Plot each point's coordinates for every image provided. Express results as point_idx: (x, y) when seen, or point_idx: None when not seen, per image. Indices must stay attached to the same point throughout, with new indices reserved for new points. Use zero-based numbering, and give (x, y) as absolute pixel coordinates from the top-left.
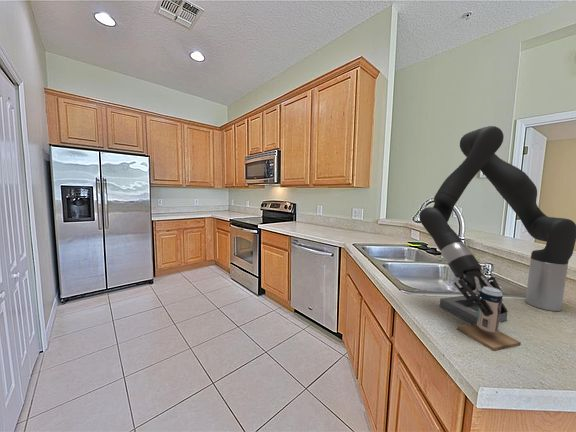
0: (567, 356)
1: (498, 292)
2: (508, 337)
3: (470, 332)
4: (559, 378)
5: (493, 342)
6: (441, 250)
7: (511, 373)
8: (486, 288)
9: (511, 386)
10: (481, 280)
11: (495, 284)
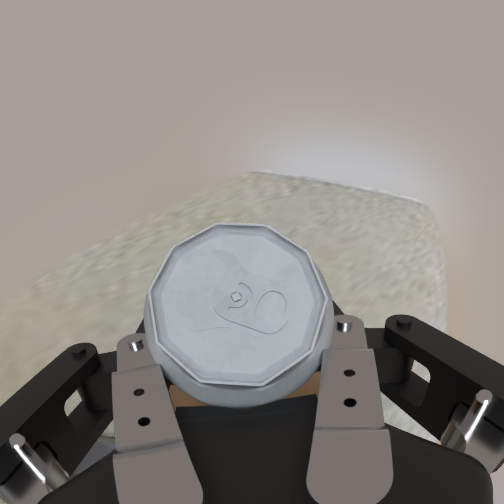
0: (101, 245)
1: (244, 225)
2: None
3: (309, 385)
4: (232, 192)
5: None
6: None
7: (337, 217)
8: (276, 336)
9: (370, 193)
10: (202, 480)
11: (31, 407)
